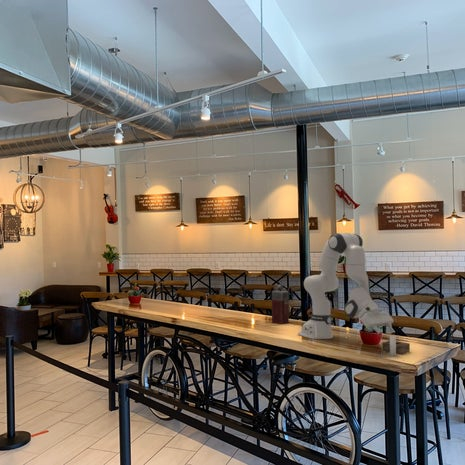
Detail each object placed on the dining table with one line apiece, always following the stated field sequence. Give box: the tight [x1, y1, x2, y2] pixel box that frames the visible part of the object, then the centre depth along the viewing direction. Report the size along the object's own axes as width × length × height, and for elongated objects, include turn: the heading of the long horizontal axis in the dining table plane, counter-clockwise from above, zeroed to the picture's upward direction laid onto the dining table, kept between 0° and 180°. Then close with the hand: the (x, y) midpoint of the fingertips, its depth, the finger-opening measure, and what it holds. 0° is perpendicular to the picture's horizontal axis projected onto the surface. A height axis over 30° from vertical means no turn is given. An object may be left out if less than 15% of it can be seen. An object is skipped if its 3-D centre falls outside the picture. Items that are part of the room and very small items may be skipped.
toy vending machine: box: [271, 284, 290, 325], centre depth 329 cm, size 9×11×28 cm
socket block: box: [381, 340, 411, 356], centre depth 245 cm, size 11×10×4 cm
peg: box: [389, 335, 397, 357], centre depth 236 cm, size 3×3×10 cm
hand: (385, 331), depth 240 cm, fingers open, 8 cm apart
